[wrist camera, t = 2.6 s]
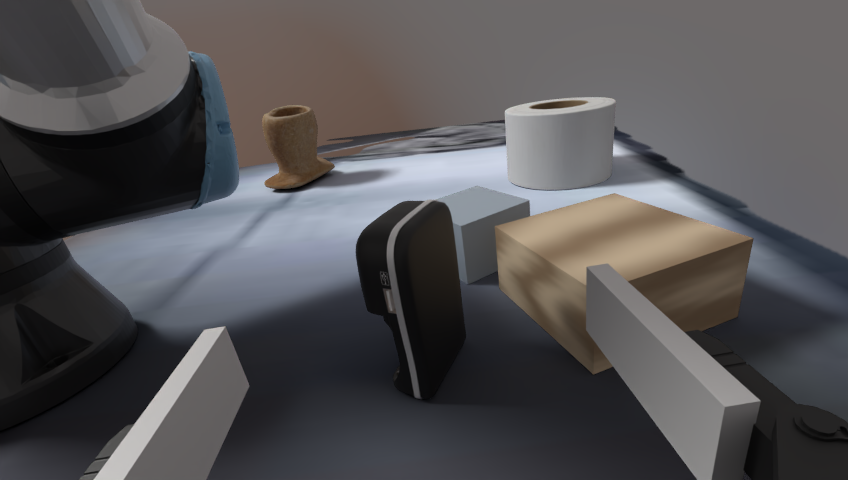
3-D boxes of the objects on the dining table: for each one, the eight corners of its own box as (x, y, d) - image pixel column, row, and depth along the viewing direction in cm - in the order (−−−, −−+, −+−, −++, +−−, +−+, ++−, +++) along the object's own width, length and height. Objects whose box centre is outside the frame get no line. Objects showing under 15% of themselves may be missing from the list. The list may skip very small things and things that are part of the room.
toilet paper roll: (609, 159, 68) (612, 91, 63) (615, 189, 55) (620, 106, 50) (515, 164, 73) (511, 102, 69) (500, 192, 60) (495, 117, 56)
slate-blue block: (423, 258, 44) (415, 206, 42) (481, 235, 47) (477, 186, 45) (467, 286, 37) (460, 226, 35) (531, 256, 41) (529, 200, 38)
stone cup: (304, 193, 75) (282, 110, 69) (258, 193, 81) (233, 115, 75) (351, 170, 87) (335, 97, 81) (308, 171, 93) (290, 103, 87)
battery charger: (423, 329, 32) (399, 191, 28) (469, 337, 30) (451, 191, 26) (377, 393, 26) (337, 233, 22) (430, 407, 25) (399, 237, 20)
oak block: (499, 288, 36) (494, 226, 34) (611, 253, 39) (614, 193, 36) (593, 374, 25) (596, 292, 23) (737, 316, 28) (753, 238, 26)
